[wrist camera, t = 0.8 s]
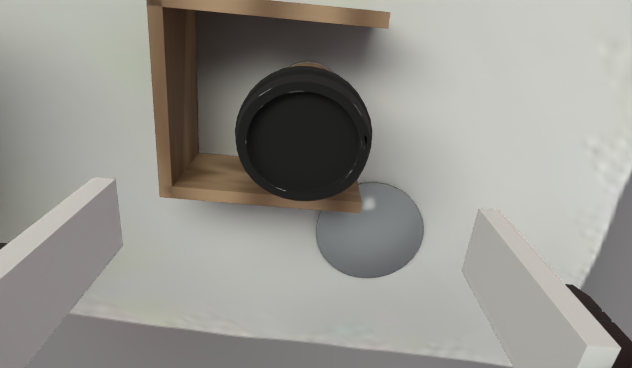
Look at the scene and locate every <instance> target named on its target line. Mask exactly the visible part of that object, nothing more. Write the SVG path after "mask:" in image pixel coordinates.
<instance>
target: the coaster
mask: <svg viewBox="0 0 632 368" xmlns="http://www.w3.org/2000/svg"><path fill="white" fill-rule="evenodd" d="M358 187H359V192H360V196H361V201H362V205H361V212H360V213H348V212H336V211H323V210H322V211H321V213H320V215H319V218H318V221H317V228H316V237H317V243H318V247H319V249H320V251H321V253H322V255H323V257H324V258H325V259H326V260H327V262H328V263H329V264H331V265H332V266H333V267H334V268H336V269H337V270H339V271H341V272H343V273H345V274H347V275H350V276H354V277H360V278H375V277H380V276H384V275H388V274H390V273H393V272H395V271H397V270H398V269H400V268H402V267H403V266H404V265H406V264H407V263H408V262H409V261H410V260H411V259H412V258H413V257H414V255H415V254H416V252H417V251H418V249H419V247H420V245H421V242H422V239H423V232H424V226H423V220H422V216H421V214H420V211H419V209H418V207H417V206H416V204H415V203H414V201H413V200H412V199H411V198H410V197H409V196H408V195H407V194H406V193H404V192H403V191H401V190H400V189H398V188H396V187H393V186H391V185H388V184H384V183H377V182H368V183H360V184H358Z"/></svg>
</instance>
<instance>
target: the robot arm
mask: <svg viewBox="0 0 632 368" xmlns="http://www.w3.org/2000/svg"><path fill="white" fill-rule="evenodd" d="M122 246H123V241H122V233H121V224H120V215H119V206H118V197H117V189H116V180H115V179H110V178H98V177H93V178H92V179H91V180H89V181H88V182H87V183H85V184H84V185H83V186H82V187H80V188H79V189H78V190H76V191H75V192H74V193H72V194H71V195H70V196H69V197H67V198H66V199H65V200H63V201H62V202H61V203H60V204H58V205H57V206H56V207H54V208H53V209H52V210H51V211H49V212H48V213H47V214H45V215H44V216H43V217H42V218H40V219H39V220H38V221H36V222H35V223H34V224H33V225H31V226H30V227H29V228H27V229H26V230H25V231H24V232H22V233H21V234H20V235H18V236H17V237H16V238H15V239H13V240H12V241H11V242H9V243H1V244H0V368H25V367H26V365H27V364H28V363H29V362H30V360H31V359H32V358H33V357H34V355H35V354H36V353H37V352H38V350H39V349H40V348H41V347H42V346H43V344H44V343H45V342H46V340H47V339H48V338H49V337H50V335H51V334H52V333H53V332H54V331H55V329H56V328H57V327H58V325H59V324H60V323H61V322H62V321H63V319H64V318H65V317H66V316H67V314H68V313H69V312H70V311H71V309H72V308H73V307H74V306H75V304H76V303H77V302H78V301H79V299H80V298H81V297H82V296H83V294H84V293H85V292H86V291H87V289H88V288H89V287H90V286H91V284H92V283H93V282H94V281H95V279H96V278H97V277H98V276H99V274H100V273H101V272H102V271H103V269H104V268H105V267H106V266H107V265H108V263H109V262H110V261H111V260H112V258H113V257H114V256H115V255H116V253H117V252H118V251H119V250H120V248H121V247H122ZM462 273H463V275H464V276H465V278H466V280H467V282H468V284H469V286H470V288H471V289H472V291H473V293H474V295H475V297H476V299H477V300H478V302H479V304H480V306H481V308H482V310H483V312H484V313H485V315H486V317H487V319H488V321H489V323H490V324H491V326H492V328H493V330H494V332H495V334H496V335H497V337H498V339H499V341H500V343H501V345H502V347H503V348H504V350H505V352H506V354H507V356H508V358H509V359H510V361H511V363H512V365H513V367H514V368H632V341H631V340H630V339H629V338H628V337H627V336H626V335H625V334H624V333H623V332H622V331H621V330H620V328H619V327H618V326H617V325H616V324H615V323H613V322H611V319H610V318H609V317H608V316H607V314H605V312H602V309H601V308H600V307H599V306H598V305H597V304H596V303H595V302H594V301H593V300H592V299H591V297H590V296H588V295H587V294H585V293H584V292H582V291H581V290H580V289H578V288H577V287H575V286H574V285H569V284H564V283H563V282H562V280H561V279H560V278H559V277H558V276H557V275H556V274H555V272H554V271H553V270H552V269H551V268H550V267H549V266H548V265H547V263H546V262H545V261H544V260H543V259H542V258H541V257H540V256H539V254H538V253H537V252H536V251H535V250H534V249H533V248H532V247H531V245H530V244H529V243H528V242H527V241H526V240H525V239H524V237H523V236H522V235H521V234H520V233H519V232H518V231H517V230H516V228H515V227H514V226H513V225H512V224H511V223H510V222H509V221H508V219H507V218H506V217H505V216H504V215H503V214H502V213H501V211H500V210H493V209H481V208H479V209H478V213H477V216H476V220H475V223H474V227H473V231H472V234H471V238H470V242H469V245H468V249H467V253H466V256H465V260H464V264H463V267H462Z"/></svg>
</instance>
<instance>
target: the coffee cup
mask: <svg viewBox="0 0 632 368" xmlns="http://www.w3.org/2000/svg"><path fill="white" fill-rule="evenodd" d="M235 136H236V145H237V152H238V155H239V159H240V162H241V164H242V166H243V167H244V169H245V171H246V173H247V174H248V175H249V176H250V178H251V179H252V180H253V181H254V182H255V183H256V184H258V185H259V186H260V187H261V188H262V189H264V190H266V191H268V192H269V193H271V194H273V195H276V196H278V197H281V198H284V199H289V200H294V201H316V200H322V199H326V198H329V197H333V196H335V195H337V194H339V193H341V192H343V191H344V190H346V189H347V188H349V187H350V186H351V185H352V184H353V183H354V182H355V181H356V180H357V179H358V177H359V176H360V174H361V172H362V171H363V169H364V167H365V164H366V162H367V159H368V156H369V153H370V149H371V140H372V127H371V120H370V117H369V114H368V111H367V108H366V106H365V104H364V102H363V101H362V99H361V97H360V96H359V94H358V92H357V91H356V90H355V89H354V88H353V87H352V86H351V85H350V84H349V83H348V82H347V81H345V80H344V79H343V78H341V77H340V76H339V75H337V74H335V73H333V72H332V71H331V70H330V69H328V68H327V67H325V66H324V65H322V64H319V63H316V62H312V61H304V62H299V63H296V64H294V65H292V66H290V67H288V68H283V69H281V70H279V71H276V72H274V73H271V74H270V75H268V76H267V77H265V78H264V79H262V80H261V81H260V82H259V83H258V84H257V85H256V86H255V87H254V88H253V89H252V90H251V91H250V92H249V94H248V96H247V97H246V99H245V100H244V102H243V104H242V106H241V108H240V111H239V114H238V116H237V121H236V128H235Z"/></svg>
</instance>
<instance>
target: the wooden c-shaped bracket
mask: <svg viewBox="0 0 632 368" xmlns="http://www.w3.org/2000/svg"><path fill="white" fill-rule="evenodd" d="M195 10H201V11H211V12H222V13H232V14H242V15H252V16H263V17H273V18H283V19H294V20H304V21H314V22H324V23H335V24H345V25H355V26H366V27H376V28H386V29H388V25H389V18H390V12H381V11H372V10H362V9H352V8H342V7H332V6H321V5H311V4H301V3H291V2H281V1H271V0H147V14H148V29H149V44H150V59H151V74H152V89H153V104H154V119H155V134H156V149H157V164H158V179H159V194H160V197H165V198H177V199H190V200H202V201H214V202H226V203H238V204H250V205H263V206H275V207H287V208H299V209H311V210H323V211H336V212H348V213H360V212H361V205H362V201H361V196H360V192H359V187H358V183H357V180H356V181H355V182H354V183H353V184H352V185H351V186H350V187H349V188H347V189H346V190H344V191H343V192H341V193H339V194H337V195H335V196H333V197H329V198H326V199H322V200H316V201H294V200H289V199H284V198H281V197H278V196H276V195H273V194H271V193H269V192H268V191H266V190H264V189H262V188H261V187H260V186H259V185H258V184H256V183H255V182H254V181H253V180H252V179H251V178H250V176H249V175H248V174H247V173H246V171H245V169H244V167H243V166H242V164H241V162H240V159H239V156H229V155H217V154H206V153H199V145H198V103H197V61H196V19H195Z"/></svg>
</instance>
